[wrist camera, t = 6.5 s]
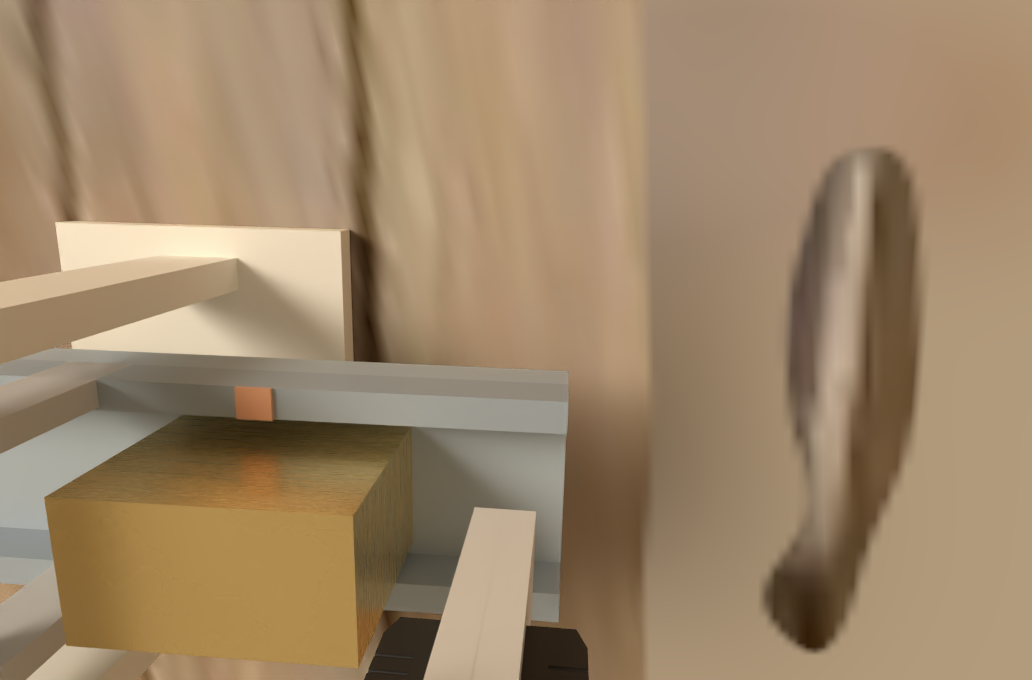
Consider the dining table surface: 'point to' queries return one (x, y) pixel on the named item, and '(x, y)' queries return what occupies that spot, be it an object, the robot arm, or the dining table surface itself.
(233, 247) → the stand
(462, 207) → the dining table surface
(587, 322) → the dining table surface
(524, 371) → the beam
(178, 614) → the block
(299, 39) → the dining table surface
